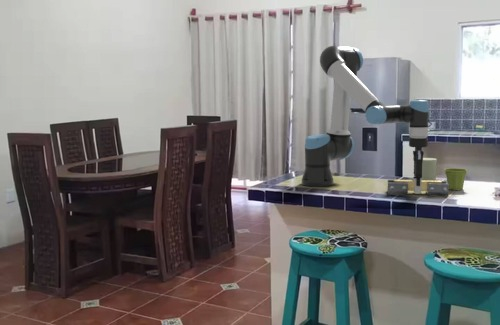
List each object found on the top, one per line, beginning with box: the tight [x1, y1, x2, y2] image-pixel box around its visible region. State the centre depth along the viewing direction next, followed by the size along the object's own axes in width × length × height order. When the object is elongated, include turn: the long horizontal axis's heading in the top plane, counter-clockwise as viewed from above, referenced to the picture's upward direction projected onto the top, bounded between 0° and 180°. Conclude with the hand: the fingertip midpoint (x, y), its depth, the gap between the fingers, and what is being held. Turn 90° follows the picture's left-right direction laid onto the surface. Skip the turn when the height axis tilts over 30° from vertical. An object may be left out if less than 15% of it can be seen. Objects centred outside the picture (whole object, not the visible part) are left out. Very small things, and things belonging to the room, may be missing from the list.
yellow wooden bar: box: [393, 179, 443, 192], centre depth 215 cm, size 19×4×4 cm, turn 76°
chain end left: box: [387, 179, 409, 196], centre depth 217 cm, size 8×8×5 cm
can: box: [422, 157, 438, 181], centre depth 240 cm, size 9×9×12 cm
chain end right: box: [425, 180, 450, 197], centre depth 213 cm, size 8×8×5 cm
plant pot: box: [443, 167, 468, 191], centre depth 224 cm, size 9×9×9 cm
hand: (417, 192), depth 216 cm, fingers closed on yellow wooden bar, 3 cm apart
